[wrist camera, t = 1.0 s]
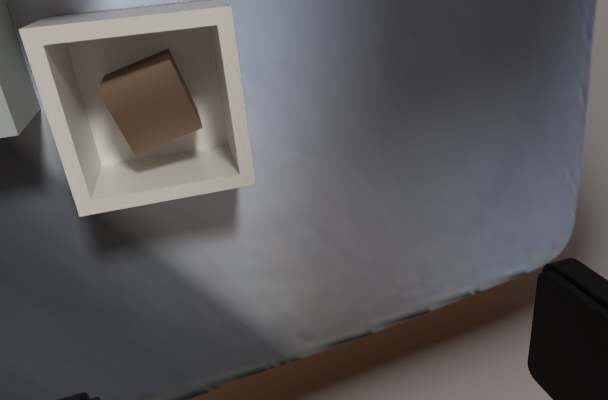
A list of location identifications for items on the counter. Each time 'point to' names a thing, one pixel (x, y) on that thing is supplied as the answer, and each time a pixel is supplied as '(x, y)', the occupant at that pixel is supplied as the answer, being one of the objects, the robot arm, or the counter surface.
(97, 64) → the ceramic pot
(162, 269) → the counter surface
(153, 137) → the walnut block
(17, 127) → the grey tub
